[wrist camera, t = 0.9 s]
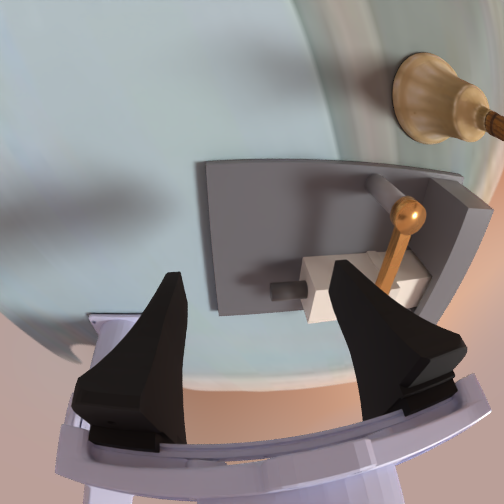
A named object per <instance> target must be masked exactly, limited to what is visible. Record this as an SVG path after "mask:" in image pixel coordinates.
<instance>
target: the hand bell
mask: <svg viewBox="0 0 504 504" xmlns="http://www.w3.org/2000/svg"><path fill="white" fill-rule="evenodd" d="M393 106H394V110H395V114H396V117H397V119H398V122H399V123H400V125H401V127H402V128H403V130H404V131H405V132H406V133H407V134H408V135H409V136H410V137H411V138H412V139H414V140H415V141H417V142H420V143H423V144H436V143H440V142H442V141H444V140H446V139H448V138H449V137H453V138H458V139H461V140H464V141H467V142H475V141H477V140H479V139H480V138H481V137H482V136H483V135H484V134H485V132H488V133H489V134H490V135H492V136H494V137H496V138H498V139H500V140H502V141H504V117H503V116H501V115H499V114H498V113H496V112H493V111H492V110H490V109H489V104H488V101H487V98H486V96H485V95H484V93H483V92H482V91H481V90H480V89H479V88H478V87H477V86H475V85H473V84H470V83H468V82H466V81H464V80H462V79H460V78H458V76H457V74H456V73H455V71H454V70H453V69H452V68H451V66H450V65H449V64H448V63H447V62H445V61H444V60H443V59H441V58H440V57H438V56H436V55H434V54H431V53H418V54H414V55H412V56H410V57H409V58H408V59H406V60H405V61H404V62H403V63H402V64H401V66H400V67H399V69H398V71H397V74H396V76H395V79H394V84H393Z"/></svg>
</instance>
